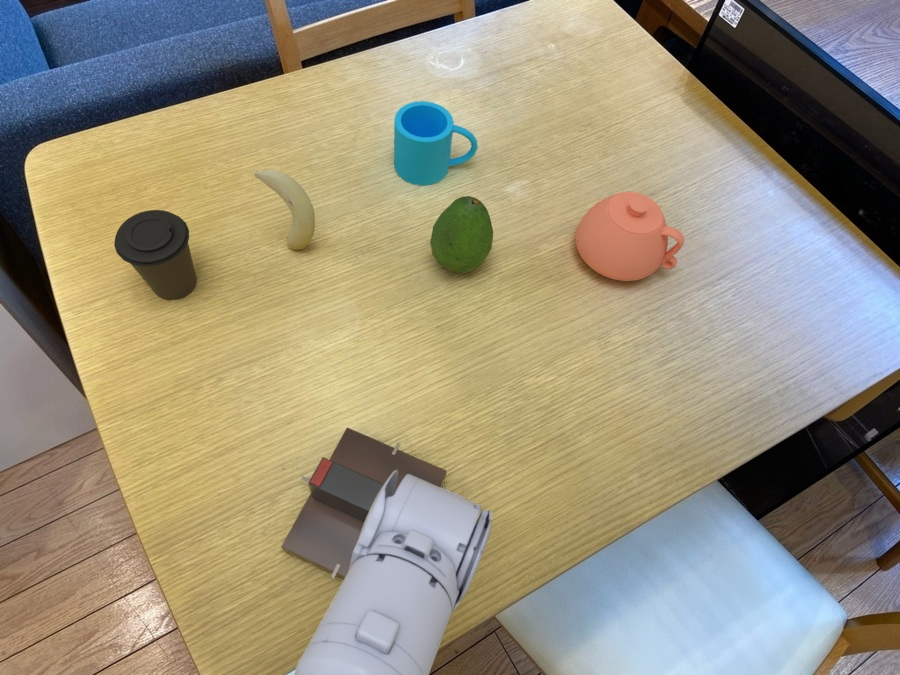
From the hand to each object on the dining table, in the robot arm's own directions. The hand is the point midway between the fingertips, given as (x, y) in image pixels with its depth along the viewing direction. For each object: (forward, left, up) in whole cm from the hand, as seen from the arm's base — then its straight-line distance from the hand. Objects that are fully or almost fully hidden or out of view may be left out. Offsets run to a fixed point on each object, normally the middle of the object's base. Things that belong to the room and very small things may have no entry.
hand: (411, 597), depth 55 cm
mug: (+57, +22, -9) cm, 62 cm away
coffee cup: (+23, +43, -9) cm, 50 cm away
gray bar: (+7, +8, -6) cm, 12 cm away
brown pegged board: (+7, +8, -8) cm, 14 cm away
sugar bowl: (+53, -8, -9) cm, 54 cm away
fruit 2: (+42, +12, -9) cm, 45 cm away
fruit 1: (+35, +33, -9) cm, 49 cm away
